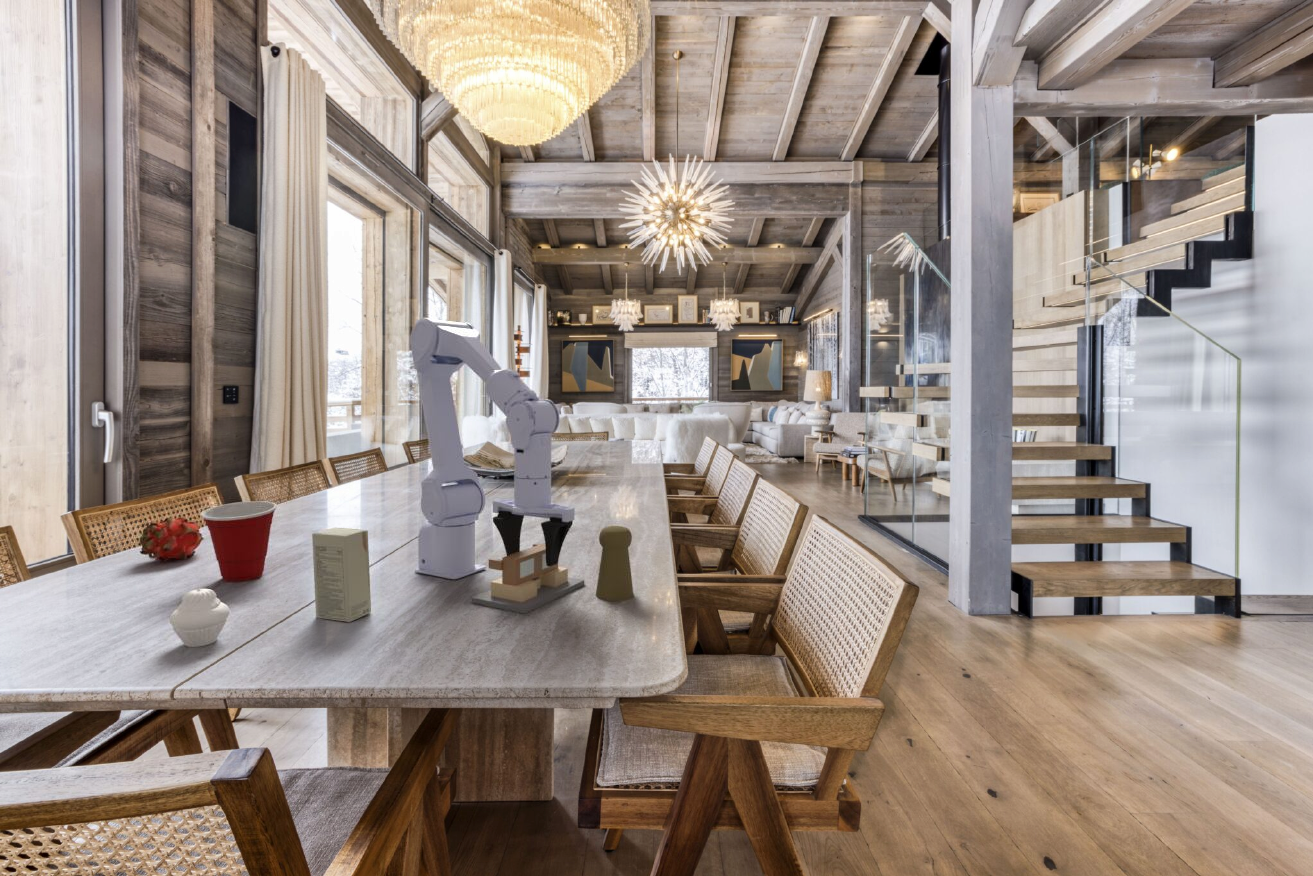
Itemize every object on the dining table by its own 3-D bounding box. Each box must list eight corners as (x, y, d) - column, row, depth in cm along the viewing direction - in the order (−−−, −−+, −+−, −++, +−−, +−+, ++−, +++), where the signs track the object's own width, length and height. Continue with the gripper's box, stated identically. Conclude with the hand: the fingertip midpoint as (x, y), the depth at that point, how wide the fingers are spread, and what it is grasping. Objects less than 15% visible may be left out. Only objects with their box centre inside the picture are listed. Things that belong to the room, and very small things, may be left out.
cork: (628, 602, 100) (629, 532, 99) (590, 599, 101) (591, 529, 100) (637, 590, 106) (638, 524, 105) (601, 587, 107) (602, 522, 106)
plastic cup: (185, 585, 104) (182, 511, 103) (237, 566, 115) (235, 499, 114) (247, 589, 103) (244, 514, 102) (293, 570, 114) (291, 502, 113)
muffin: (164, 655, 78) (161, 598, 77) (178, 637, 83) (176, 583, 83) (225, 648, 80) (223, 592, 80) (234, 630, 86) (233, 578, 85)
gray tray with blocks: (471, 602, 98) (471, 583, 98) (535, 576, 113) (535, 559, 113) (524, 613, 94) (524, 593, 94) (584, 584, 108) (584, 567, 108)
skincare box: (372, 613, 93) (371, 529, 92) (349, 623, 89) (347, 536, 88) (337, 607, 95) (335, 525, 94) (312, 617, 91) (310, 531, 90)
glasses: (488, 581, 99) (488, 556, 99) (535, 563, 110) (535, 540, 109) (514, 586, 97) (514, 560, 97) (559, 567, 108) (559, 544, 107)
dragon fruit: (137, 577, 113) (193, 568, 125) (175, 550, 112) (228, 544, 124) (115, 536, 114) (173, 531, 126) (152, 509, 113) (207, 507, 125)
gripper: (479, 475, 101) (479, 561, 102) (556, 483, 95) (555, 574, 96) (508, 471, 108) (508, 551, 109) (582, 478, 101) (581, 563, 102)
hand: (532, 561), depth 103 cm, fingers open, 7 cm apart
